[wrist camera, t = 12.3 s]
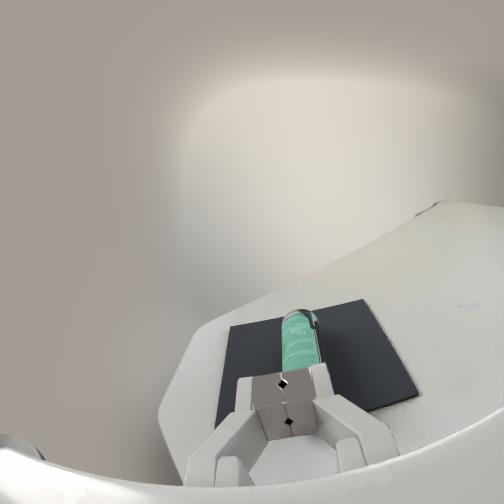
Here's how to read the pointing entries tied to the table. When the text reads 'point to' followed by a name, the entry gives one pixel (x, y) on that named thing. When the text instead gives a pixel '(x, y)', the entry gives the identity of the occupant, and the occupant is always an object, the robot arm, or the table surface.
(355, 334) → the mat
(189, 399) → the table surface
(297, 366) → the spray can
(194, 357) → the table surface
